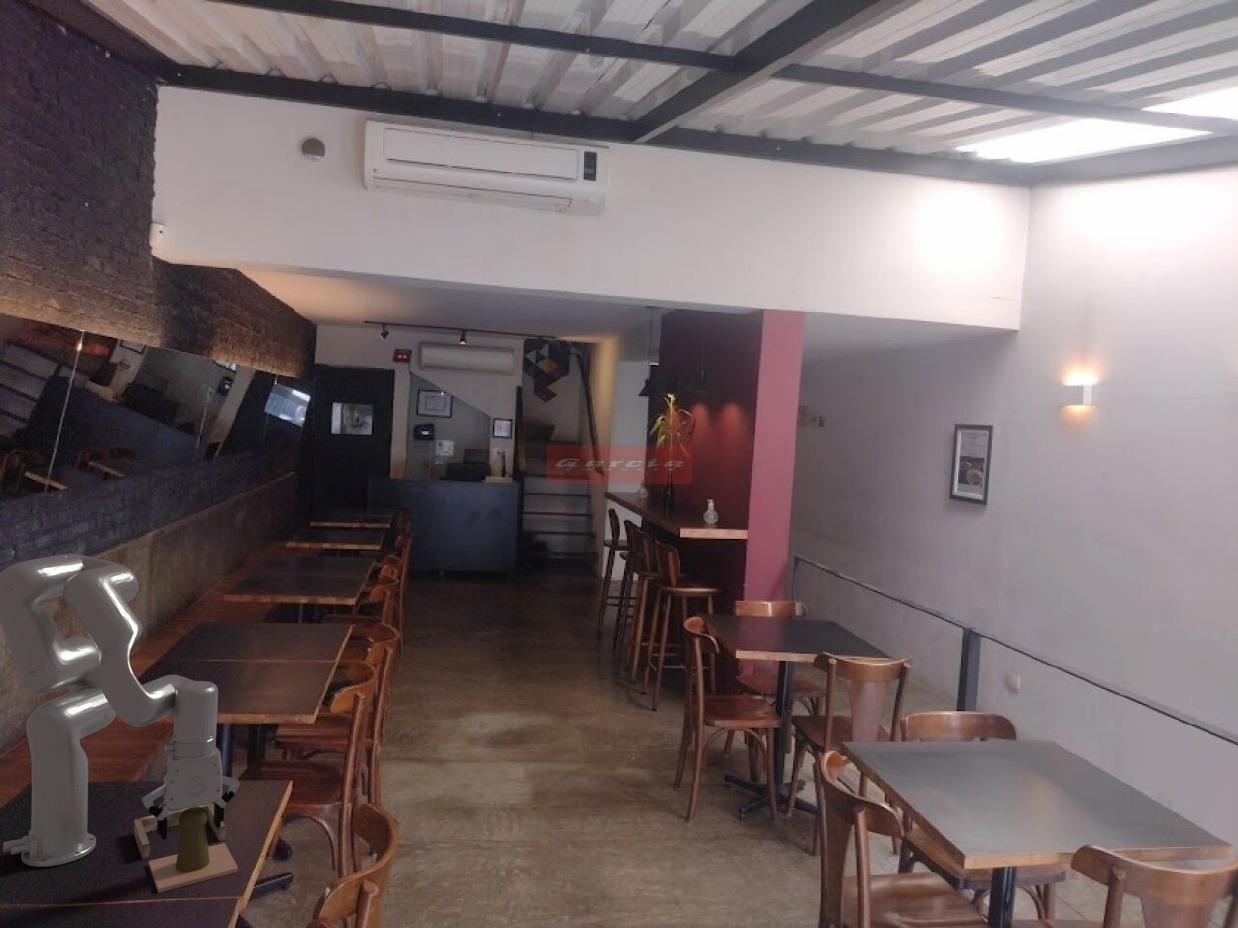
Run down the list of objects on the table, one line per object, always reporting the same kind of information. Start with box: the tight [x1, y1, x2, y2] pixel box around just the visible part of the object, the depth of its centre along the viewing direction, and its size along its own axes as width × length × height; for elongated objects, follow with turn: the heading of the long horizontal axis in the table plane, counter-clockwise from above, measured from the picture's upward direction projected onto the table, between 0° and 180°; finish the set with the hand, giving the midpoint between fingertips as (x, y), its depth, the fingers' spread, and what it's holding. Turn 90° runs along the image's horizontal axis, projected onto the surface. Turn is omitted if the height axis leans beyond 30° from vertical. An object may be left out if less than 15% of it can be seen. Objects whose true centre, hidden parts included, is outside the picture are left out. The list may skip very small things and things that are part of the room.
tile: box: [148, 842, 239, 894], centre depth 167 cm, size 14×12×1 cm
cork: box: [176, 807, 210, 872], centre depth 167 cm, size 6×6×11 cm
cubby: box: [133, 803, 226, 861], centre depth 180 cm, size 15×13×3 cm
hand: (190, 830), depth 167 cm, fingers open, 9 cm apart
